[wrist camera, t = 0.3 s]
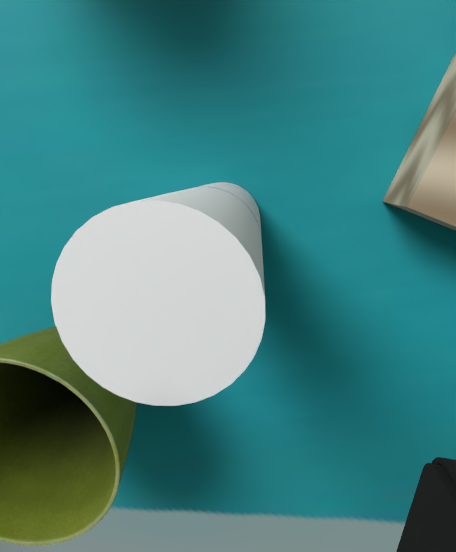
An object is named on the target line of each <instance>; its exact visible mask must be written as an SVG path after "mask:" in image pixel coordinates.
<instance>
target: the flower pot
mask: <svg viewBox="0 0 456 552" xmlns="http://www.w3.org/2000/svg"><path fill="white" fill-rule="evenodd" d="M136 407H137V402H134V401H131V400H129V399H126V398H123V397H120V396H118V395H116V394H114V393H112V392H111V391H109V390H107V389H105V388H103V387H102V386H100V385H99V384H98V383H97V382H95V381H94V380H93V379H92V378H90V377H89V376H88V375H87V374H86V373H85V372H84V371H83V370H82V369H81V368H80V367H79V366H78V364H77V363H76V362H75V361H74V360H73V359H72V357H71V355H70V354H69V352H68V351H67V349H66V347H65V346H64V344H63V342H62V340H61V338H60V335H59V333H58V330H57V327H53V328H49V329H45V330H41V331H38V332H34V333H31V334H28V335H24V336H21V337H19V338H16V339H13V340H10V341H8V342H5V343H3V344H0V541H3V542H7V543H12V544H18V545H29V546H30V545H31V546H42V545H51V544H56V543H61V542H65V541H68V540H71V539H73V538H75V537H77V536H80V535H81V534H83V533H85V532H87V531H88V530H90V529H91V528H92V527H94V526H95V525H96V524H97V523H98V522H99V521H100V520H101V519H102V518H103V517H104V515H106V513H107V512H108V510H109V509H110V507H111V505H112V504H113V501H114V499H115V497H116V494H117V491H118V487H119V484H120V480H121V476H122V472H123V469H124V465H125V461H126V458H127V454H128V450H129V446H130V442H131V437H132V432H133V427H134V421H135V414H136Z"/></svg>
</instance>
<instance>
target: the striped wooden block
mask: <svg viewBox="0 0 456 552" xmlns="http://www.w3.org/2000/svg"><path fill="white" fill-rule="evenodd" d="M383 202H385V203H387V204H390V205H392V206H395V207H397V208H400V209H402V210H405V211H407V212H410V213H412V214H415V215H417V216H420V217H422V218H425V219H427V220H430V221H432V222H435V223H437V224H440V225H442V226H444V227H447V228H449V229H452V230H454V231H456V53H455V55H454V57H453V59H452V61H451V63H450V65H449V67H448V69H447V71H446V73H445V75H444V77H443V79H442V81H441V83H440V85H439V87H438V89H437V91H436V93H435V95H434V97H433V100H432V102H431V104H430V106H429V108H428V110H427V112H426V114H425V116H424V118H423V120H422V122H421V124H420V126H419V128H418V130H417V132H416V134H415V136H414V138H413V140H412V142H411V144H410V146H409V148H408V151H407V153H406V155H405V157H404V159H403V161H402V163H401V165H400V167H399V169H398V171H397V173H396V175H395V177H394V179H393V181H392V183H391V185H390V187H389V189H388V191H387V193H386V195H385V197H384V199H383Z"/></svg>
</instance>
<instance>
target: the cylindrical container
mask: <svg viewBox="0 0 456 552" xmlns="http://www.w3.org/2000/svg"><path fill="white" fill-rule="evenodd" d="M51 304H52V310H53V316H54V322H55V325H56V327H57V330H58V333H59V335H60V338H61V340H62V342H63V344H64V346H65V347H66V349H67V351H68V352H69V354H70V355H71V357H72V359H73V360H74V361H75V362H76V363H77V364H78V366H79V367H80V368H81V369H82V370H83V371H84V372H85V373H86V374H87V375H88V376H89V377H90V378H92V379H93V380H94V381H95V382H97V383H98V384H99V385H100V386H102V387H103V388H105V389H107V390H109V391H111V392H112V393H114V394H116V395H118V396H120V397H123V398H126V399H129V400H131V401H134V402H138V403H143V404H148V405H154V406H178V405H183V404H189V403H195V402H198V401H200V400H203V399H205V398H208V397H210V396H213V395H215V394H217V393H218V392H220V391H221V390H223V389H224V388H226V387H227V386H229V385H230V384H232V383H233V382H234V381H235V380H236V379H237V378H238V377H239V376H240V375H241V374H242V373H243V372H244V371H245V369H246V368H247V366H248V365H249V363H250V362H251V360H252V359H253V357H254V356H255V354H256V351H257V349H258V346H259V344H260V342H261V339H262V334H263V329H264V324H265V289H264V271H263V255H262V239H261V222H260V213H259V209H258V206H257V204H256V202H255V200H254V199H253V197H252V196H251V195H250V194H249V193H248V192H247V191H246V190H245V189H243V188H241V187H240V186H238V185H235V184H232V183H226V182H219V183H213V184H208V185H204V186H200V187H195V188H191V189H186V190H182V191H177V192H172V193H168V194H164V195H159V196H155V197H151V198H146V199H142V200H138V201H134V202H130V203H126V204H122V205H118V206H114V207H111V208H109V209H108V210H106V211H104V212H102V213H100V214H98V215H96V216H94V217H92V218H91V219H90V220H89V221H88V222H86V223H85V224H84V225H83V226H82V227H80V228H79V229H78V230H77V231H76V232H75V233H74V235H73V236H72V237H71V239H70V240H69V241H68V243H67V244H66V245H65V247H64V249H63V251H62V253H61V255H60V257H59V259H58V261H57V264H56V267H55V271H54V276H53V280H52V293H51Z"/></svg>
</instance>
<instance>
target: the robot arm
mask: <svg viewBox="0 0 456 552" xmlns="http://www.w3.org/2000/svg"><path fill="white" fill-rule="evenodd" d="M397 552H456V460H453V459H446V458H440V457H438V458H435V459H434V460H433V461H432V463H431V464H430V463H427V464H426V465H425V466H424V468H423V470H422V473H421V476H420V480H419V483H418V486H417V489H416V492H415V495H414V498H413V502H412V505H411V508H410V511H409V514H408V517H407V520H406V524H405V527H404V530H403V533H402V536H401V540H400V542H399V545H398V549H397Z"/></svg>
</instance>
